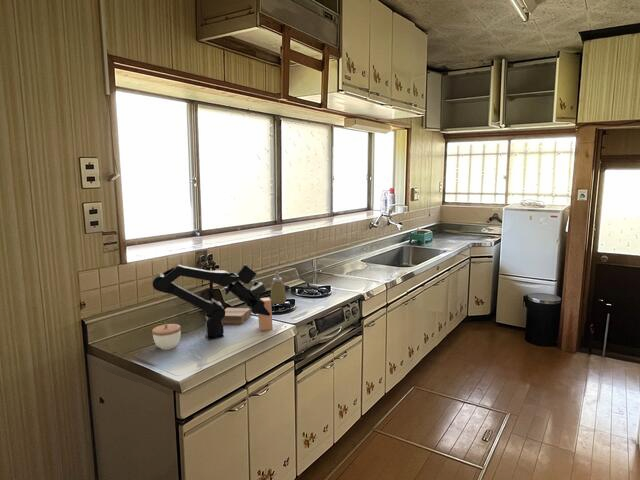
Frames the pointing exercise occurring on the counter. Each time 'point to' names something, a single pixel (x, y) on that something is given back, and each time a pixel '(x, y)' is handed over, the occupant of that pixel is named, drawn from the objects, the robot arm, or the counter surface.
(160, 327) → the lidded jar
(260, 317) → the tall terracotta block
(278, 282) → the squeeze bottle
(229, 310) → the walnut base block
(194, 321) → the counter surface
